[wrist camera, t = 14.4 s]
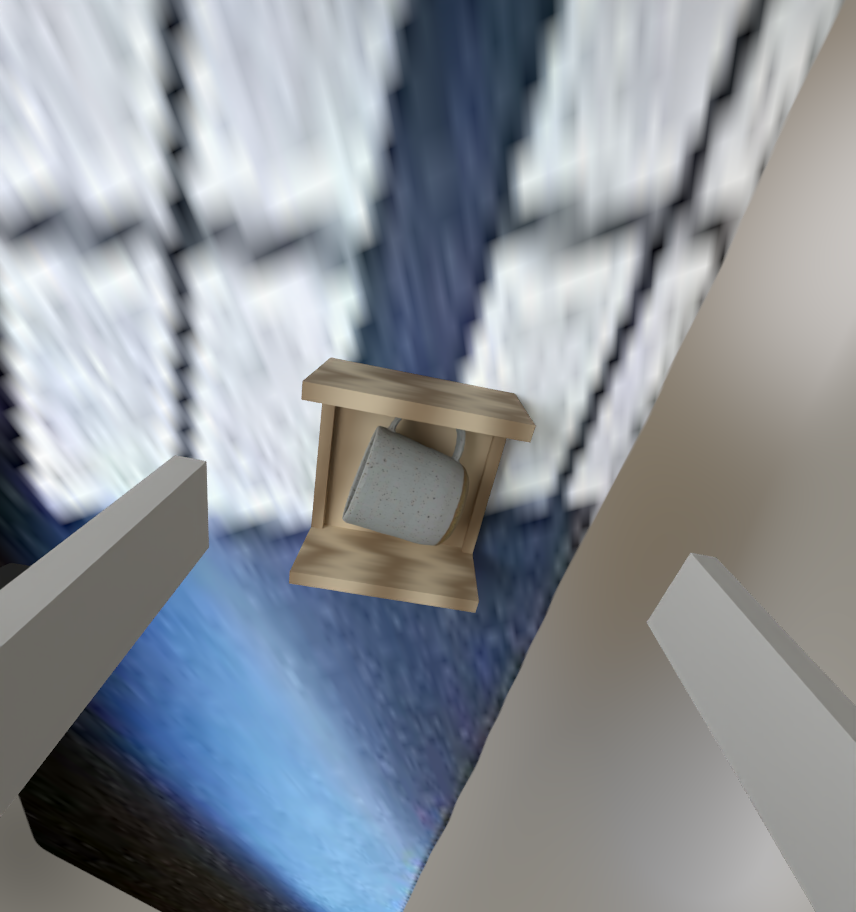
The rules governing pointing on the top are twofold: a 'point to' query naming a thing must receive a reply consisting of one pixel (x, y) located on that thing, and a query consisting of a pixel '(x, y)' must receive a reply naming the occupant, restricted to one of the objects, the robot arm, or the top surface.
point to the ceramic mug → (408, 488)
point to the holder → (427, 422)
